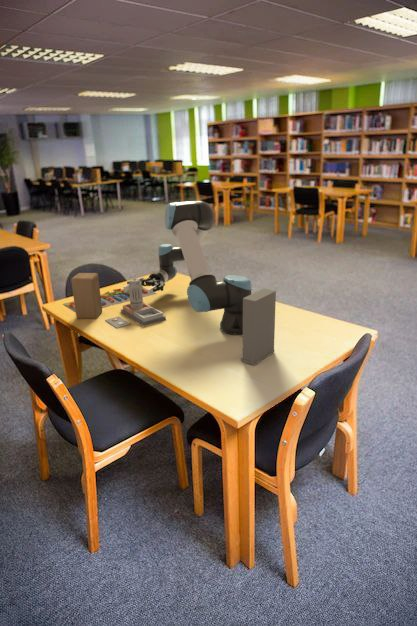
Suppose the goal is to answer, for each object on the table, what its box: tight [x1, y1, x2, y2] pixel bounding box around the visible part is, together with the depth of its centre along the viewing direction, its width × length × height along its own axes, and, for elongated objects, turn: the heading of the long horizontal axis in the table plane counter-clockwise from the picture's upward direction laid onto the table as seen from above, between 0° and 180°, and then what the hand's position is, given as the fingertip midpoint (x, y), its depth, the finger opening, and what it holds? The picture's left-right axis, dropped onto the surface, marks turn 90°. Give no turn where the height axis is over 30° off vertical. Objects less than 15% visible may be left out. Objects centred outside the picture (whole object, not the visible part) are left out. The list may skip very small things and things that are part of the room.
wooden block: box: [70, 272, 103, 320], centre depth 208 cm, size 10×10×20 cm
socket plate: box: [120, 301, 167, 327], centre depth 208 cm, size 22×12×4 cm, turn 37°
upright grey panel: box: [240, 288, 277, 366], centre depth 162 cm, size 14×6×25 cm, turn 140°
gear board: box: [62, 286, 157, 313], centre depth 233 cm, size 45×2×19 cm
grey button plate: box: [105, 316, 132, 329], centre depth 202 cm, size 12×7×1 cm, turn 37°
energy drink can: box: [129, 278, 144, 310], centre depth 210 cm, size 6×6×15 cm
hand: (136, 290), depth 211 cm, fingers open, 13 cm apart
